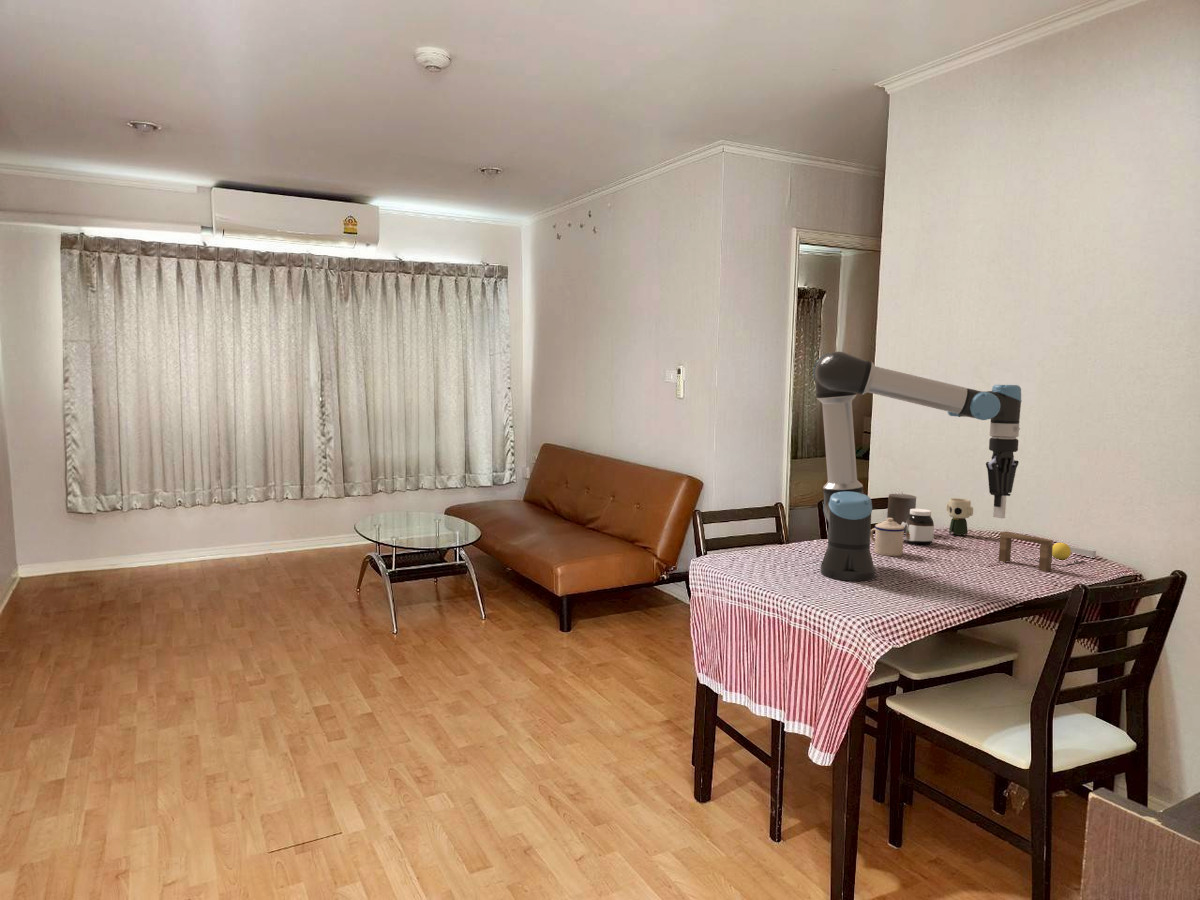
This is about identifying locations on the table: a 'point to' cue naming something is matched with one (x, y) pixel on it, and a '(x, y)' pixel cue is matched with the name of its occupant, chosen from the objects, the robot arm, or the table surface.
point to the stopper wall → (1083, 551)
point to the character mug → (959, 515)
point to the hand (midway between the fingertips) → (999, 517)
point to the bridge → (1045, 544)
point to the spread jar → (919, 527)
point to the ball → (1061, 551)
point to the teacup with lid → (888, 538)
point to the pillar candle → (900, 507)
